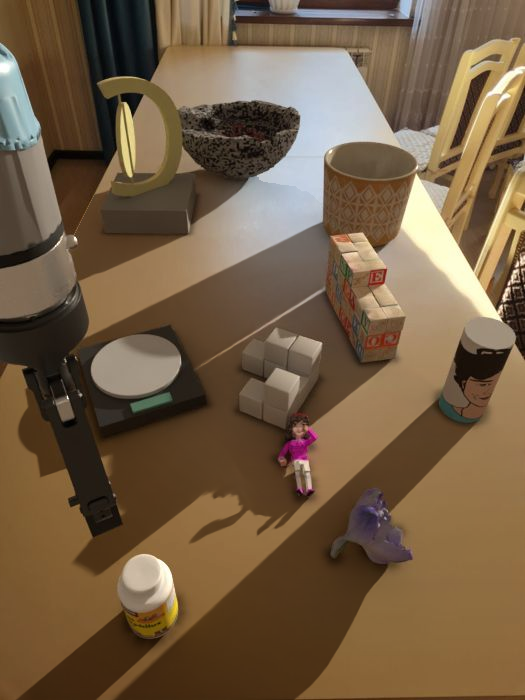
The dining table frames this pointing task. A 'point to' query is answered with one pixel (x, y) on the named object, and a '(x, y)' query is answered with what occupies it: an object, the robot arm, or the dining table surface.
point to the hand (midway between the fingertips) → (87, 470)
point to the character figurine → (299, 449)
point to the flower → (373, 531)
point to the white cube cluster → (279, 375)
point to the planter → (367, 189)
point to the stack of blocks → (363, 297)
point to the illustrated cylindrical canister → (476, 368)
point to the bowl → (238, 136)
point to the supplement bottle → (148, 596)
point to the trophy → (147, 188)
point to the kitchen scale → (139, 379)
